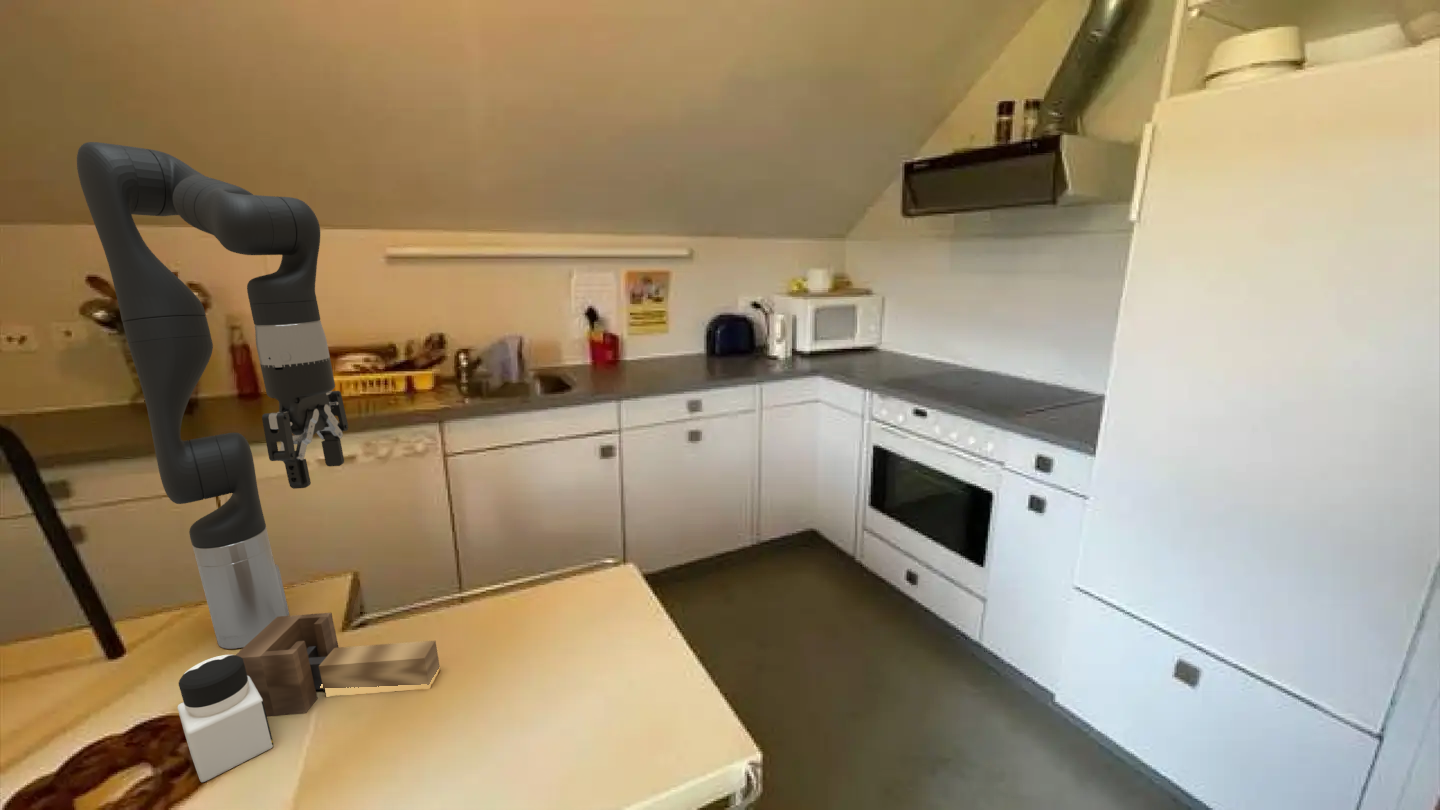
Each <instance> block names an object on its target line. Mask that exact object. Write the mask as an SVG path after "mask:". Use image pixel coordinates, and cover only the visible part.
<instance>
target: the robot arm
mask: <svg viewBox="0 0 1440 810" xmlns="http://www.w3.org/2000/svg"><path fill="white" fill-rule="evenodd" d="M76 169H77V175H78V180H79V182H80V187H81V190H82V193H83V195H84V199H85V202H86V204H87V208H88V209H89V213H90V216H91V218H92V221H93V223H94V226H95V230H96V232H97V235H98V237H99V241H100V242H101V246H102V248H103V250H104V254H105V258H106V260H107V264H108V268H109V270H110V274H111V279H112V282H113V283H112V284H113V287H114V291H115V296H116V299H117V305H118V308H119V309H118V310H119V312H120V318H121V322H122V326H123V330H124V334H125V337H126V341H127V344H128V348H129V352H130V354H131V359H132V362H133V364H134V366H135V371H136V374H137V378H138V380H139V383H140V387H141V391H142V394H143V397H144V402H145V405H146V410H147V414H148V415H147V416H148V420H149V425H150V430H151V431H150V432H151V435H152V440H153V446H154V453H155V458H156V463H157V468H158V472H159V475H160V480H161V483H162V486H163V489H164V492H165V494H166V495H167V497H168V498H169V500H170V501H171V502H172V503H174V504H177V505H183V504H185V505H186V504H189V503H190V504H191V503H194V502H200V501H203V500H207V499H211V498H217V497H220V496H224V495H229V494H231V496H230V497H229V499H227V501H225V502H224V503H223V504H222V505H221V506H219V507H218V508H216V509H214V511H212V512H210V513H207V514H206V515H203V517H201V518H199V519H198V520H196V521H195V522H194V523H192V524H191V526H190V528H189V532H188V533H189V539H190V542H191V545H192V549H193V553H194V556H195V557H194V558H195V561H196V564H197V568H198V572H199V577H200V580H201V585H202V588H203V590H204V595H205V600H206V603H207V606H208V610H209V614H210V617H211V618H210V619H211V622H212V627H213V630H214V634H215V638H216V642H217V645H218V646H219V647H220V648H223V649H229V650H230V649H240V648H241V649H243V648H244V647H245V646H246V645H247V644H248V643H249V642H250V641H251V640H252V639H253V638H254V637H256V636H257V635H258V634H259V633H260V632H261V631H262V630H263V629H264V628H265V627H266V626H267V625H269V624H270V623H271V622H272V621H273V620H274V619H275V618H276V617H280V616H290V611H289V606H288V603H287V599H286V598H287V597H286V594H285V589H284V584H283V580H282V575H281V571H280V568H279V564H276V563H275V560H274V555H273V550H272V545H271V543H270V537H269V533H268V528H267V525H266V521H265V516H264V513H263V508H262V504H261V500H260V494H259V489H258V482H257V475H256V468H255V462H254V458H253V453H252V449H251V445H250V443H249V442H248V440H247V439H246V437H245V436H244V435H242V434H241V433H240V432H228V433H221V434H216V435H209V436H203V437H198V438H193V439H189V440H188V439H186V440H182V438H181V437H182V436H181V428H182V422H183V417H184V414H185V411H186V409H187V407H188V403H189V401H190V399H191V396H192V394H193V391H194V390H195V388H196V386H197V384H198V383H199V381H200V379H201V378H202V375H203V374H204V372H205V370H206V368H207V367H208V364H209V362H210V359H211V356H212V354H213V347H214V345H213V340H212V335H211V331H210V328H209V327H210V326H209V322H208V319H207V315H206V311H205V307H204V305H203V303H202V302H201V300H200V299H199V298H198V297H197V295H196V294H195V293H194V292H193V291H192V289H190V288H189V287H188V286H187V285H186V284H185V283H184V282H183V281H182V280H181V279H180V278H179V277H178V276H176V274H175V273H174V272H172V271H171V269H169V268H168V267H167V266H166V265H165V264H164V263H163V262H162V261H161V260H160V259H159V258H158V257H157V256H156V255H155V253H153V252H152V250H151V249H150V247H148V245H147V243H146V242H145V240H144V239H143V237H142V235H141V233H140V231H139V230H138V227H137V225H136V223H135V221H134V218H133V215H135V216H150V217H151V216H152V217H153V216H154V217H171V216H179V217H180V218H181V219H182V220H183V221H184V222H185V223H187V224H188V225H190V226H191V227H193V228H195V229H197V230H199V231H201V232H203V233H207V234H209V235H212V236H214V237H215V238H216V240H217V241H218V242H219V243H220V245H222V247H223V248H224V249H226V250H227V251H230V252H232V253H236V254H239V255H245V256H281V257H282V258H281V262H280V264H279V267H278V269H277V270H276V271H274V272H272V273H268V274H264V275H260V276H257V277H253V278H251V279H250V280H249V281H248V283H247V286H246V290H247V291H246V292H247V296H248V302H249V307H250V311H251V316H252V320H253V321H252V322H253V325H254V331H255V334H254V335H255V336H254V337H255V346H256V351H257V355H258V360H259V364H260V370H261V375H262V379H263V384H264V388H265V393H266V395H267V397H269V398H271V399H276V401H277V402H278V408H279V409H278V411H277V412H270V413H268V412H267V413H264V414H262V415H261V416H262V417H261V420H262V425H263V432H264V437H265V441H266V442H265V443H266V448H267V454H268V458H269V461H270V462H283V463H284V467H285V471H286V472H285V473H286V476H287V480H288V484H289V487H290V488H291V489H294V490H295V489H306V488H308V487H309V486H310V485H311V478H310V472H309V467H308V464H307V459H306V458H305V456H306V450H307V448H308V447H307V446H308V445H309V444H310V443H311V442H312V441H313V437H314V435H315V434H317V435H318V437H319V438H320V439H321V447H322V451H323V457H324V461H325V465H326V466H327V467H340V466H342V465H343V464H345V457H344V452H343V448H342V441H341V439H342V438H343V432H347V431H348V430H349V424H348V419H347V415H346V410H345V405H344V401H343V396H342V392H341V391H340V390H334V389H335V387H336V384H335V379H334V371H333V368H332V367H333V366H332V362H331V357H330V351H329V345H328V342H327V336H326V334H325V330H324V328H323V324H322V321H321V314H320V310H319V305H318V300H317V295H316V281H317V279H316V278H317V269H318V268H317V267H318V257H319V251H320V246H321V245H320V244H321V228H320V223H319V220H318V218H317V216H316V215H317V214H316V213H315V212H314V210H313V209H312V208H311V207H310V206H309V205H308V204H307V203H306V202H305V201H303V200H301V199H299V198H297V197H291V196H290V197H289V196H273V195H272V196H271V195H257V194H253V193H252V192H251V191H248V190H247V189H245V188H242V187H240V186H237V185H236V184H232V183H229V182H227V181H226V182H225V181H224V180H223V181H222V180H220V179H216V178H213V177H209V176H205V175H204V174H203V173H201V172H199V171H197V170H196V169H194V168H193V167H191V165H189V164H187V163H185V162H184V161H182V160H180V159H179V158H178V157H176V156H173V155H171V154H169V153H166V152H163V151H159V150H155V149H149V148H144V147H135V146H129V145H123V144H114V143H105V142H97V141H88V142H84V143H83V144H81V145H80V147H79V148H78V150H77V154H76ZM335 416H336V417H337V418H338V419H337V418H336V417H335ZM279 442H280V444H281V445H280V448H279V447H278V443H279ZM295 445H296V449H295ZM278 448H279V449H278Z"/></svg>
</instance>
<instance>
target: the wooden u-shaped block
mask: <svg viewBox="0 0 1440 810" xmlns="http://www.w3.org/2000/svg"><path fill="white" fill-rule="evenodd" d="M311 646H316V647H317V652H318V656H319V657H327V656H328V655H329V654H330V652H331V651H332V650H333V649H334V648H339V641H338V636H337V633H336V629H335V622H334V618H333V613H332V612H321V613H319V612H318V613H310V614H309V613H308V614H298V615H297V614H296V615H288V616H280V617H276V618H275V619H274V620H273V621H272V622H271V623H270V624H269V625H267V626H266V627H265V628H264V629H263V630H262V631H261V632H260V633H259V634H258V635H257V636H256V637H254V638H253V639H252V640H251V641H250V642H249V643H248V644H247V645H246V646H245V647H242V648H241V649H240V650H239V651H238V652H237V653H236V654H235V655H237V656H239V657H241V658H242V659H243V661H244V665H245V669H246V673H247V676H249V677H250V678H251V680H252V682H253V683H254V685H255V687H256V689H257V691H258V692H259V694H260V696H261V698H262V699H263V703H264V707H265V711H266V715H267V717H274V716H286V715H296V714H307V712H308V711H309V710H310V708H311V707H312V706H313V705H314V703H315V702H316V701H317V700H316V698H317V699H318V693H317V691H316V690H315V685H314V681H313V676H312V671H311V667H310V662H309V658H308V653H307V648H308V647H311Z"/></svg>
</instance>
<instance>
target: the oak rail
mask: <svg viewBox="0 0 1440 810" xmlns="http://www.w3.org/2000/svg"><path fill="white" fill-rule="evenodd" d="M338 647H339V646H338ZM437 648H438V647H437V642H436V640H423V641H410V642H396V643H382V644H371V645H368V644H367V645H356V646H355V645H353V646H342V647H341V646H340V647H339V648H334V649H333V650H332V651H331V652H330V654H329V655H328V656H327V657H319V656H318V652H317V647H316V646H311V647H308V648H307V653H308V658H309V662H310V667H311V671H312V676H313V681H314V685H315V690H320V689H319V688H320V686H321V684H323V688H324V689H325V688H346V687H347V688H349V687H350V688H351V687H354V688H355V687H358V688H359V687H377V686H378V687H379V686H398V685H421V684H427V685H429V684H430V682H431V680H432V678H433V677H434V675H435V674H436V672H437V670H438V669H439V667H440V660H439V659H440V658H439V654H438V649H437ZM440 668H441V667H440ZM324 689H323V690H324Z"/></svg>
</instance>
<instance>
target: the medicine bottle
mask: <svg viewBox="0 0 1440 810" xmlns="http://www.w3.org/2000/svg"><path fill="white" fill-rule="evenodd" d="M178 687H179V690H180V695H181V697H182V701H183V702H181V703H179V704H178V705H177V712H178V714H179V718H180V722H181V725H182V729H183V733H184V736H185V739H186V740H185V741H186V742H187V746H188V749H189V753H190V757H191V759H192V762H193V765H194V768H195V771H196V773H197V776H198V779H199V781H200V782H201V783H205V782H208V781H209V780H211V779H214V778H215V777H218V776H219V775H221V774H223V773H225V772H227V771H229V770H232V769H233V768H235V767H237V766H238V765H242V764H243V763H245V762H247V761H249V760H251V759H253V758H255V757H257V756H259V755H261V754H262V753H263V754H264V753H265V752H267V751H269V750H270V749H272V748H273V747H274V740H273V736H272V733H271V732H272V731H271V728H270V724H269V720H268V716H267V715H266V711H265V707H264V703H263V699H262V698H261V696H260V694H259V692H258V691H257V689H256V687H255V685H254V683H253V682H252V680H251V678H250V677H249V676H247V673H246V669H245V665H244V661H243V659H242V658H241V657H239V656H237V655H236V654H223V655H219V656H218V655H217V656H214V657H211V658H208V659H205V660H203V661H200V662H199V663H196V664H195V665H193V666H192V667H190V668H189V669H188V670H186V671H185V672H184V673H183V674H182V676H181V677H180V679H179V681H178Z"/></svg>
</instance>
